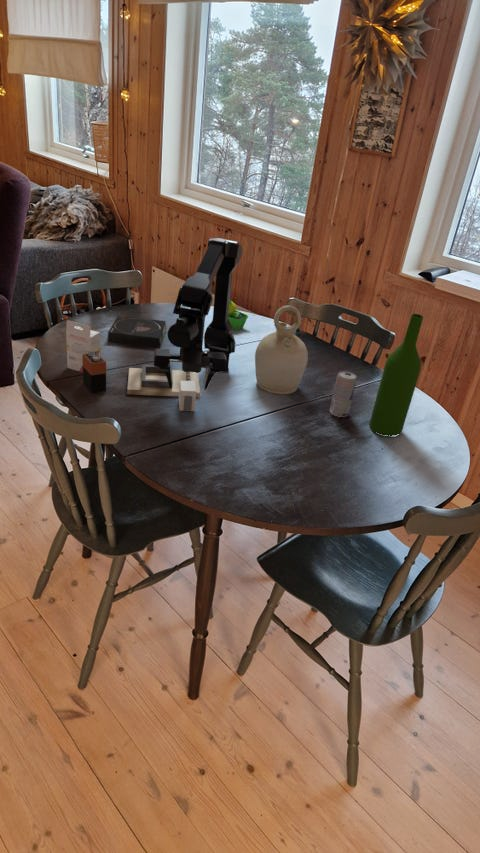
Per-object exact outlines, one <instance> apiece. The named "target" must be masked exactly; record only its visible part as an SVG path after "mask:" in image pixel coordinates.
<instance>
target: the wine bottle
mask: <svg viewBox="0 0 480 853" xmlns="http://www.w3.org/2000/svg"><path fill="white" fill-rule="evenodd" d="M423 320H424V316H423V315H421V314H419V313H412V314H410V319H409V321H408V325H407V328H406V332H405V335H404V338H403V342H402V343H401V344H400V345H399V346H398V347H397V348H396V349H394V350H393V351H392V352H391V353H390V354H389V355H388V357H387V359H386V361H385V363H384V368H383V372H382V375H381V378H380V381H379V387H378V389H377V390H378V391H377V394H376V397H375V398H376V399H375V401H374V404H373V408H372V413H371V416H370V420H369V423H368V424H369V426H370V427H369V426H368V427H369V429H370V428H371V429H372V430H373V431H375V432H377V433H379V434H382V435H388V436H389V435H390V436H392V435H397V434H400V433H401V432H403V429H404V426H405V423H406V418H407V416H408V412H409V409H410V406H411V403H412V399H413V396H414V392H415V390H416V386H417V384H418V380H419V376H420V373H421V368H422V361H421V359H420V356H419V352H418V348H417V341H418V337H419V335H420V332H421V326H422V323H423ZM371 429H370V430H371ZM372 430H371V431H372ZM373 431H372V432H373ZM401 434H402V433H401ZM401 434H400V435H401Z"/></svg>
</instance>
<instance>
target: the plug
mask: <svg viewBox="0 0 480 853" xmlns="http://www.w3.org/2000/svg"><path fill="white" fill-rule="evenodd" d="M196 399H197V397H196V385H195V381H180V390H179V396H178V405H179V406H178V409H179V411H181V412H182V411H183V412H185V411H186V412H195V410H196V408H195V407H196V401H197V400H196Z"/></svg>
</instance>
